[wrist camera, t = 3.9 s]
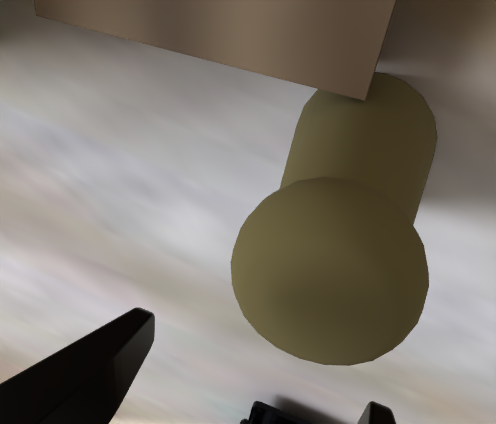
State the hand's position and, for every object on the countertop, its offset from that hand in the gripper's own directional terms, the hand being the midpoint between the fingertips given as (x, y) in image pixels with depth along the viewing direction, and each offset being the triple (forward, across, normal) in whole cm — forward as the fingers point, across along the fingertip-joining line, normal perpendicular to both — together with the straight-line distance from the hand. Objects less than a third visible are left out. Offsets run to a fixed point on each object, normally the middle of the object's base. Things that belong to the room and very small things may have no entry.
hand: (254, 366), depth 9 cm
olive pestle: (+13, -1, 0) cm, 13 cm away
